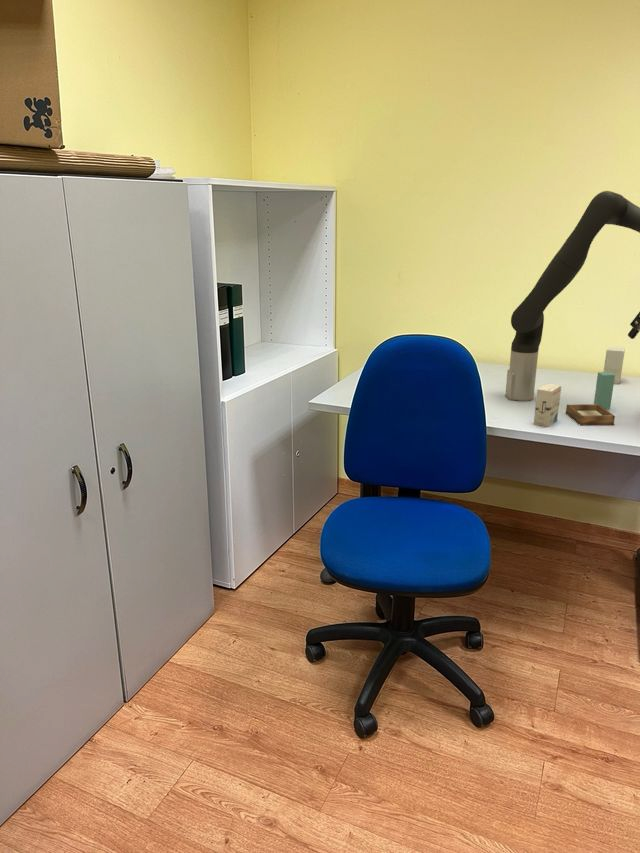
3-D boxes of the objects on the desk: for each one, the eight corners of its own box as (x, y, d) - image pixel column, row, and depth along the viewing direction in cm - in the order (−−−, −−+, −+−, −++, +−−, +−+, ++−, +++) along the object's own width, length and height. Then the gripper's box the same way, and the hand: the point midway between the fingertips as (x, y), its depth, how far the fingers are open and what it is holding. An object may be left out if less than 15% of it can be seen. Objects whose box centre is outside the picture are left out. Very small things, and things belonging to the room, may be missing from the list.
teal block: (598, 409, 217) (602, 375, 213) (593, 406, 221) (598, 372, 217) (609, 409, 217) (614, 375, 213) (605, 406, 221) (609, 372, 217)
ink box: (542, 417, 209) (546, 382, 205) (558, 420, 206) (562, 385, 202) (532, 424, 203) (536, 388, 199) (548, 427, 200) (552, 391, 196)
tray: (579, 425, 201) (581, 416, 200) (565, 413, 213) (566, 404, 212) (613, 425, 201) (615, 416, 200) (597, 412, 213) (598, 404, 212)
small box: (619, 384, 247) (624, 351, 243) (602, 382, 249) (606, 350, 245) (619, 379, 254) (624, 347, 250) (602, 378, 256) (606, 345, 252)
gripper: (677, 284, 196) (646, 324, 208) (645, 289, 191) (616, 330, 203) (694, 299, 192) (662, 339, 204) (662, 305, 187) (632, 346, 199)
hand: (639, 335), depth 204 cm, fingers open, 8 cm apart
